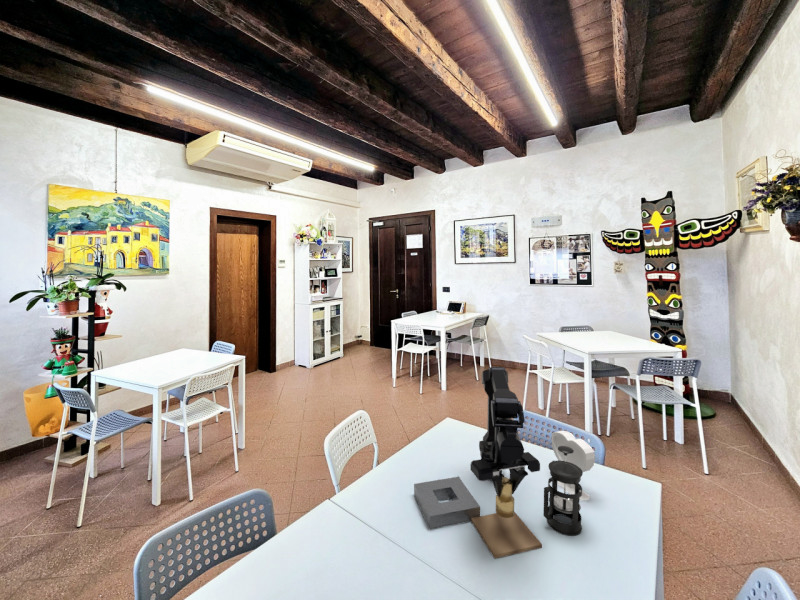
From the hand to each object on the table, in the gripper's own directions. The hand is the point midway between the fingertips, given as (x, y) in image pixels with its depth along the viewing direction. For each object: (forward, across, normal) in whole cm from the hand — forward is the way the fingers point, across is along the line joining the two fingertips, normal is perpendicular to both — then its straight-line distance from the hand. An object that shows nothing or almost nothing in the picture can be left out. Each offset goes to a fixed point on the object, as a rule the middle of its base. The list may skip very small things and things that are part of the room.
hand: (504, 494), depth 97 cm
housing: (+12, +12, -15) cm, 22 cm away
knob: (+5, 0, 0) cm, 5 cm away
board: (+12, 0, 0) cm, 12 cm away
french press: (+12, -18, +1) cm, 22 cm away
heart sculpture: (+12, -33, -13) cm, 37 cm away
